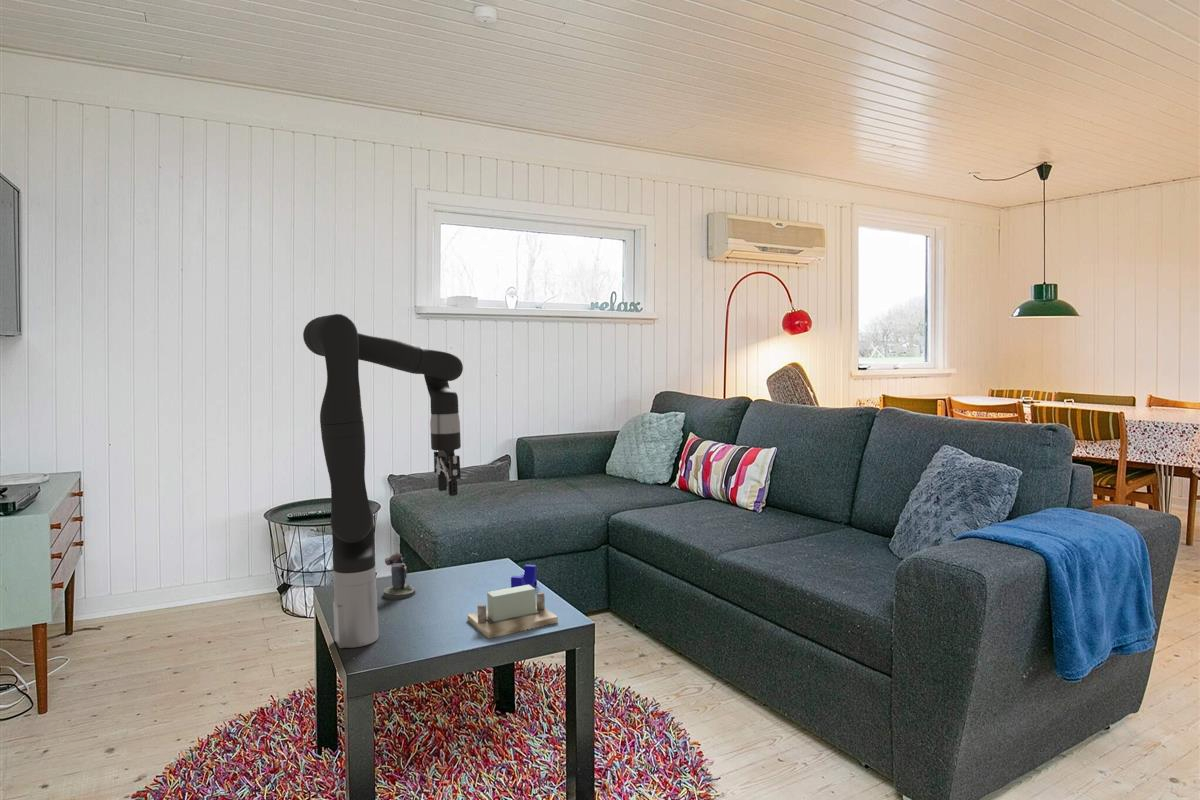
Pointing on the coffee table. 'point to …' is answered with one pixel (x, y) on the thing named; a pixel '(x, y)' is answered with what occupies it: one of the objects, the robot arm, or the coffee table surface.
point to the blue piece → (526, 577)
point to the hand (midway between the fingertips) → (447, 493)
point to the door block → (511, 602)
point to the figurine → (398, 579)
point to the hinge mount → (512, 620)
